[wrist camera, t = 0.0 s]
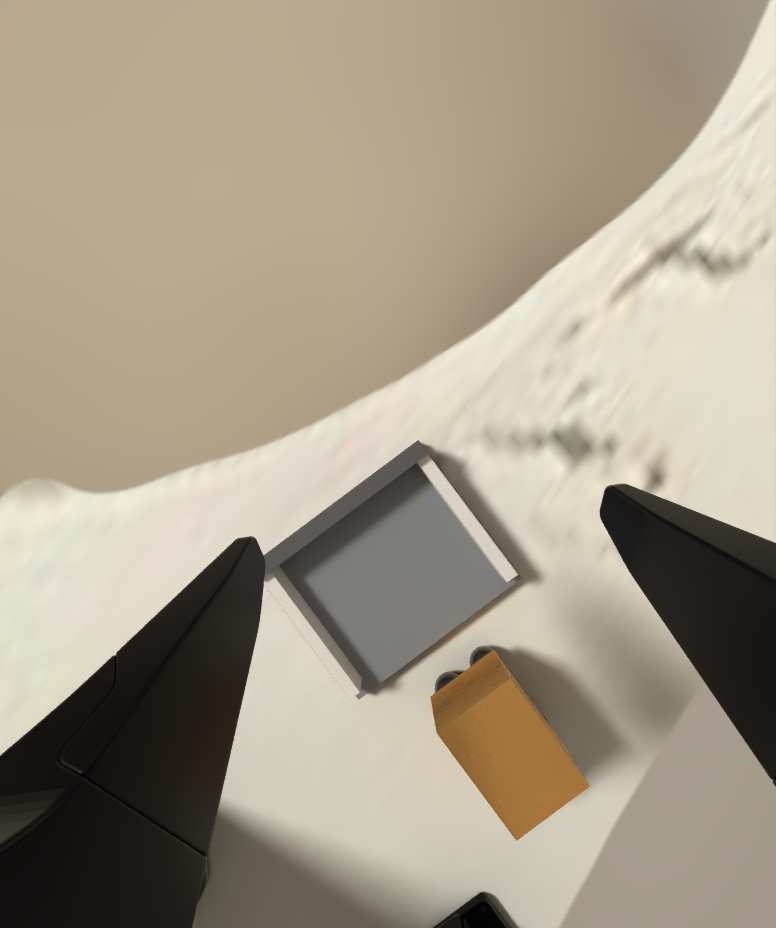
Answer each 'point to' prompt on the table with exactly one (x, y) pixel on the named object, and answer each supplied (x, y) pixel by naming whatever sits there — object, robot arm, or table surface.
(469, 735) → the trolley
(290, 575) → the dock
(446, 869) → the table surface
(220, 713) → the robot arm
